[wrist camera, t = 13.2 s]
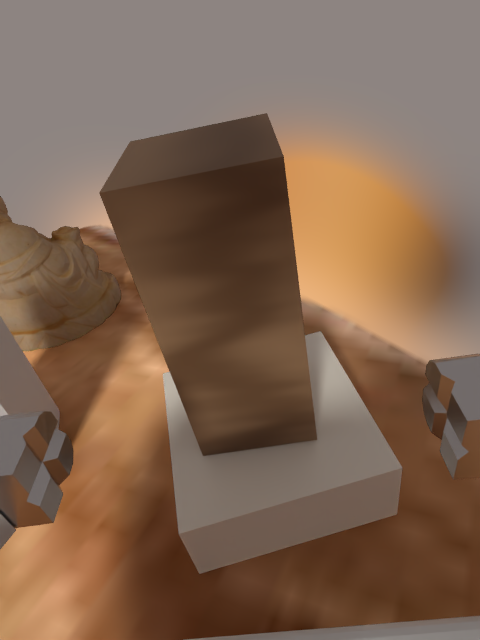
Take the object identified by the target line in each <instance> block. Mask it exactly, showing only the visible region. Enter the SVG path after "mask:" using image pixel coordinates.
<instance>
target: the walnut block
mask: <svg viewBox="0 0 480 640" xmlns="http://www.w3.org/2000/svg"><path fill="white" fill-rule="evenodd" d="M287 190H288V189H287V181H286V173H285V164H284V157H283V154H282V151H281V149H280V146H279V144H278V141H277V138H276V136H275V133H274V131H273V128H272V125H271V123H270V120H269V118H268V115H267V114H261V115H256V116H252V117H247V118H242V119H238V120H232V121H227V122H223V123H218V124H213V125H208V126H203V127H198V128H194V129H189V130H184V131H179V132H175V133H170V134H165V135H160V136H155V137H150V138H146V139H141V140H136V141H131V142H130V143H129V144H128V146H127V148H126V149H125V151H124V153H123V154H122V156H121V158H120V159H119V161H118V163H117V164H116V166H115V168H114V169H113V171H112V173H111V174H110V176H109V178H108V180H107V181H106V183H105V185H104V186H103V188H102V189H101V191H100V196H101V198H102V201H103V203H104V206H105V208H106V211H107V214H108V216H109V219H110V221H111V223H112V226H113V229H114V231H115V234H116V236H117V239H118V241H119V244H120V247H121V249H122V252H123V254H124V257H125V259H126V262H127V264H128V267H129V269H130V272H131V274H132V277H133V280H134V282H135V285H136V287H137V290H138V292H139V295H140V297H141V300H142V302H143V305H144V308H145V310H146V313H147V315H148V318H149V320H150V323H151V325H152V328H153V330H154V333H155V335H156V338H157V341H158V343H159V346H160V348H161V351H162V353H163V356H164V358H165V361H166V363H167V366H168V368H169V371H170V374H171V376H172V379H173V381H174V384H175V386H176V389H177V391H178V394H179V396H180V399H181V402H182V404H183V407H184V409H185V412H186V414H187V417H188V419H189V422H190V424H191V427H192V429H193V432H194V435H195V437H196V440H197V442H198V445H199V447H200V450H201V452H202V455H203V456H207V455H214V454H221V453H228V452H235V451H242V450H249V449H256V448H263V447H269V446H276V445H283V444H290V443H297V442H304V441H311V440H317V432H316V424H315V415H314V407H313V399H312V390H311V382H310V374H309V365H308V357H307V348H306V340H305V332H304V323H303V315H302V307H301V298H300V290H299V282H298V273H297V265H296V257H295V248H294V240H293V232H292V223H291V215H290V207H289V198H288V191H287Z"/></svg>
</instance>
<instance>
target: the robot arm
mask: <svg viewBox="0 0 480 640" xmlns="http://www.w3.org/2000/svg"><path fill="white" fill-rule="evenodd" d="M425 374H426V376H427V378H428V381H429V384H428V385H427V386H426V387H425V388H424V389H423V398H422V402H423V410H424V415H425V418H426V421H427V424H428V426H429V428H430V431H431V433H432V434H434V435H435V436H437V437H438V438H440V439H441V440H442V442H441V447H440V453H441V455H442V457H443V459H444V461H445V463H446V466H447V468H448V470H449V472H450V474H451V476H452V478H453V480H459V479H472V478H480V354H472V355H465V356H458V357H451V358H444V359H437V360H430V361H429V362H428V364H427V367H426V373H425ZM57 423H58V420H57V419H56V418H55V416H54V415H53V413H52V412H51V411H40V412H31V413H21V414H12V415H3V416H0V549H1V548H2V547H3V546H4V544H5V543H6V542H7V541H8V539H9V538H10V537H11V536H12V535H13V533H14V532H15V531H16V529H15V528H19V527H27V526H34V525H41V524H49V523H54V520H55V517H56V514H57V511H58V508H59V505H60V502H61V499H62V496H63V492H62V490H61V487H60V484H61V483H62V482H63V481H64V480H65V479H66V478H67V477H68V476H69V475H70V471H71V468H72V465H73V447H72V444H71V440H70V439H69V437H68V436H67V434H66V433H64V432H62V431H60V430H58V429H56V426H57ZM185 640H480V616H468V617H456V618H444V619H431V620H419V621H407V622H394V623H382V624H370V625H357V626H345V627H333V628H321V629H308V630H296V631H284V632H271V633H259V634H247V635H234V636H222V637H210V638H197V639H185Z"/></svg>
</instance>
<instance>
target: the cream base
mask: <svg viewBox="0 0 480 640" xmlns="http://www.w3.org/2000/svg"><path fill="white" fill-rule="evenodd" d="M305 340H306V348H307V357H308V365H309V374H310V382H311V390H312V399H313V407H314V415H315V424H316V432H317V440H311V441H304V442H297V443H290V444H283V445H276V446H269V447H263V448H256V449H249V450H242V451H235V452H228V453H221V454H214V455H207V456H203V455H202V452H201V450H200V447H199V445H198V442H197V440H196V437H195V435H194V432H193V429H192V427H191V424H190V422H189V419H188V417H187V414H186V412H185V409H184V407H183V404H182V402H181V399H180V396H179V394H178V391H177V389H176V386H175V384H174V381H173V379H172V376H171V374H170V372H167V373H163V380H164V390H165V401H166V411H167V421H168V431H169V441H170V451H171V462H172V472H173V482H174V492H175V502H176V512H177V523H178V533H179V536H180V538H181V540H182V541H183V543H184V545H185V547H186V549H187V551H188V553H189V555H190V557H191V559H192V561H193V563H194V565H195V566H196V568H197V570H198V572H199V574H201V573H204V572H208V571H211V570H214V569H218V568H221V567H224V566H228V565H231V564H234V563H237V562H241V561H244V560H247V559H251V558H254V557H257V556H261V555H264V554H267V553H271V552H274V551H277V550H281V549H284V548H287V547H291V546H294V545H297V544H301V543H304V542H307V541H311V540H314V539H317V538H321V537H324V536H327V535H331V534H334V533H337V532H341V531H344V530H347V529H350V528H354V527H357V526H360V525H364V524H367V523H370V522H374V521H377V520H380V519H384V518H387V517H390V516H394V515H397V511H398V502H399V494H400V485H401V477H402V466H401V464H400V463H399V461H398V459H397V458H396V456H395V454H394V453H393V451H392V449H391V448H390V446H389V444H388V443H387V441H386V439H385V438H384V436H383V434H382V433H381V431H380V429H379V428H378V426H377V424H376V423H375V421H374V419H373V418H372V416H371V414H370V413H369V411H368V409H367V408H366V406H365V404H364V403H363V401H362V399H361V398H360V396H359V394H358V393H357V391H356V389H355V387H354V386H353V384H352V382H351V381H350V379H349V377H348V376H347V374H346V372H345V371H344V369H343V367H342V366H341V364H340V362H339V361H338V359H337V357H336V356H335V354H334V352H333V351H332V349H331V347H330V346H329V344H328V342H327V341H326V339H325V337H324V336H323V334H322V332H321V331H319V332H316V333H312V334H308V335H305Z"/></svg>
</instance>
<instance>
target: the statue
mask: <svg viewBox="0 0 480 640" xmlns="http://www.w3.org/2000/svg"><path fill="white" fill-rule="evenodd" d="M7 212H8V211H7V208H6V205H5V203H4V201H3V199H2V198H1V196H0V316H1V318H2V319H3V321H4V323H5V324H6V326H7V327H8V329H9V331H10V332H11V334H12V335H13V337H14V339H15V340H16V342H17V343H18V345H19V347H20V348H21V350H22V351H32V350H36V349H44V348H51V347H55V346H58V345H61V344H63V343H66V342H68V341H71V340H74V339H77V338H79V337H81V336H83V335H84V334H86V333H88V332H89V331H90V330H92V329H93V328H95V327H97V326H99V325H101V324H102V323H103V322H104V320H105V319H106V318H108V317H109V316H110V315H111V314H112V313H113V312H114V311H115V309H116V304H117V303H119V301H120V299H121V290H120V288H119V284H118V282H117V280H116V278H115V277H114V276H113V275H112V274H111V273H107V272H103V271H102V270H99V269H98V268H99V261H98V257H97V254H96V253H95V251H94V250H93V249H92V248H90V247H89V246H86V245H84V244H83V242H82V239H81V236H80V230H79V228H78V227H74V228H71V227H67V226H64V227H61V228H59V229H58V230H56V231H53V232H52V238H51V239H50V238H47V237H46V236H44V235H42V234H40V233H38V232H37V231H36V230H35V229H34V228H31V227H28V226H24V225H18V224H15V223H12V220H11V218H10V217H9V216H8V215H7Z"/></svg>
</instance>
